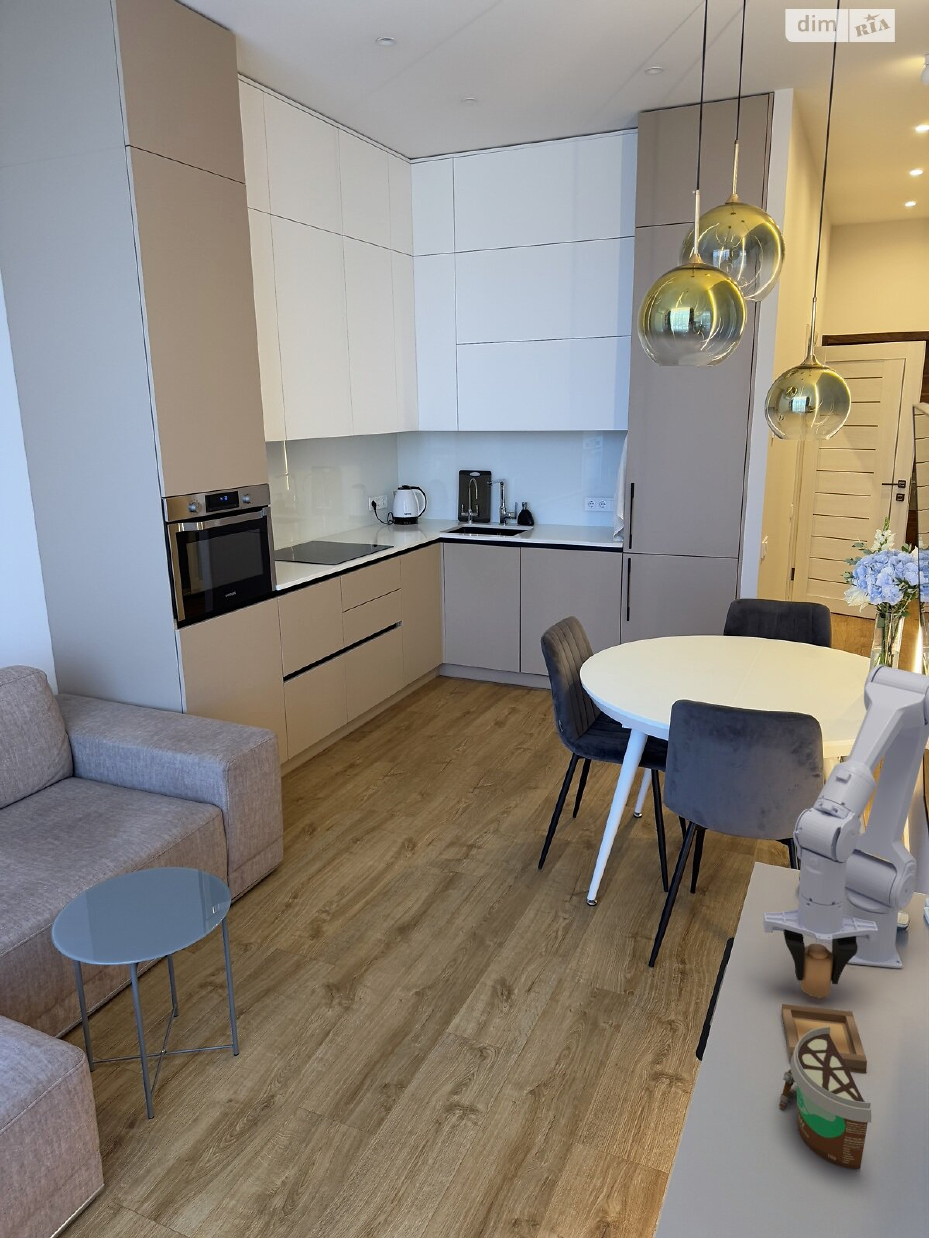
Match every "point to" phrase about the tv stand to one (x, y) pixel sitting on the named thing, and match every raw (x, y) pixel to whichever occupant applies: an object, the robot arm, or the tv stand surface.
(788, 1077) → the wooden post with brackets
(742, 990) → the tv stand surface
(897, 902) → the robot arm
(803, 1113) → the food container
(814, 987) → the wooden dowel peg
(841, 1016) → the tray
